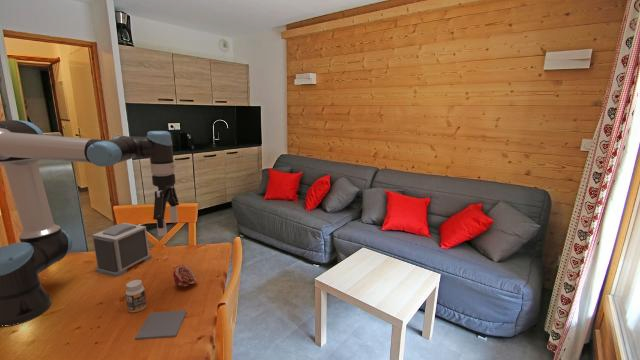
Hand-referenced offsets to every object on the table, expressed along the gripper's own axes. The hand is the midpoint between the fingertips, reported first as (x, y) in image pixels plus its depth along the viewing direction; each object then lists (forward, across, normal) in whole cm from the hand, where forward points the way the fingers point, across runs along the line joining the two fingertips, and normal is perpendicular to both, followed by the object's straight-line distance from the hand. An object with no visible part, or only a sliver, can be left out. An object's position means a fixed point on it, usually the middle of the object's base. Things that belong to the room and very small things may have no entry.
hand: (168, 228), depth 116 cm
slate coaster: (+25, -22, -3) cm, 34 cm away
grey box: (+25, +21, +27) cm, 43 cm away
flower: (+25, 0, -4) cm, 26 cm away
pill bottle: (+25, -12, +9) cm, 29 cm away
